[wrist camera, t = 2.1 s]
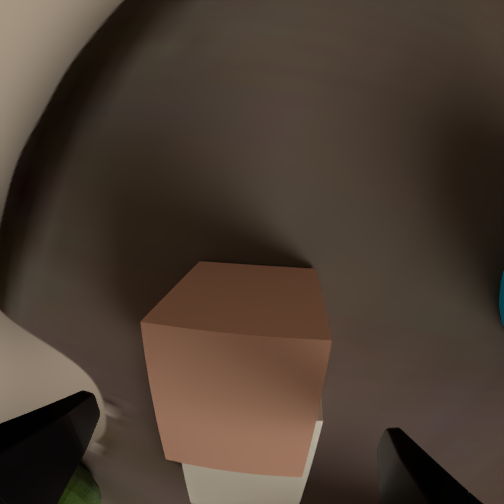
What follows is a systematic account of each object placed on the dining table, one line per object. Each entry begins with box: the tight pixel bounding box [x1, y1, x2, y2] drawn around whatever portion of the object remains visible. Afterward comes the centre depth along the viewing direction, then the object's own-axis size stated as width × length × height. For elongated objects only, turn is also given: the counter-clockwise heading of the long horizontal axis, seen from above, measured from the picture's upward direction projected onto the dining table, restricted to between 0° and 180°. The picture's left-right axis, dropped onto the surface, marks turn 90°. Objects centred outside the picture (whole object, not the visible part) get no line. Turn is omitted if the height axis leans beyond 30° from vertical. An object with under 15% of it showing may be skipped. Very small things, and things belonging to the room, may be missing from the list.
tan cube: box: [140, 261, 332, 477], centre depth 11 cm, size 6×5×6 cm
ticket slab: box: [182, 401, 323, 504], centre depth 15 cm, size 10×7×3 cm
